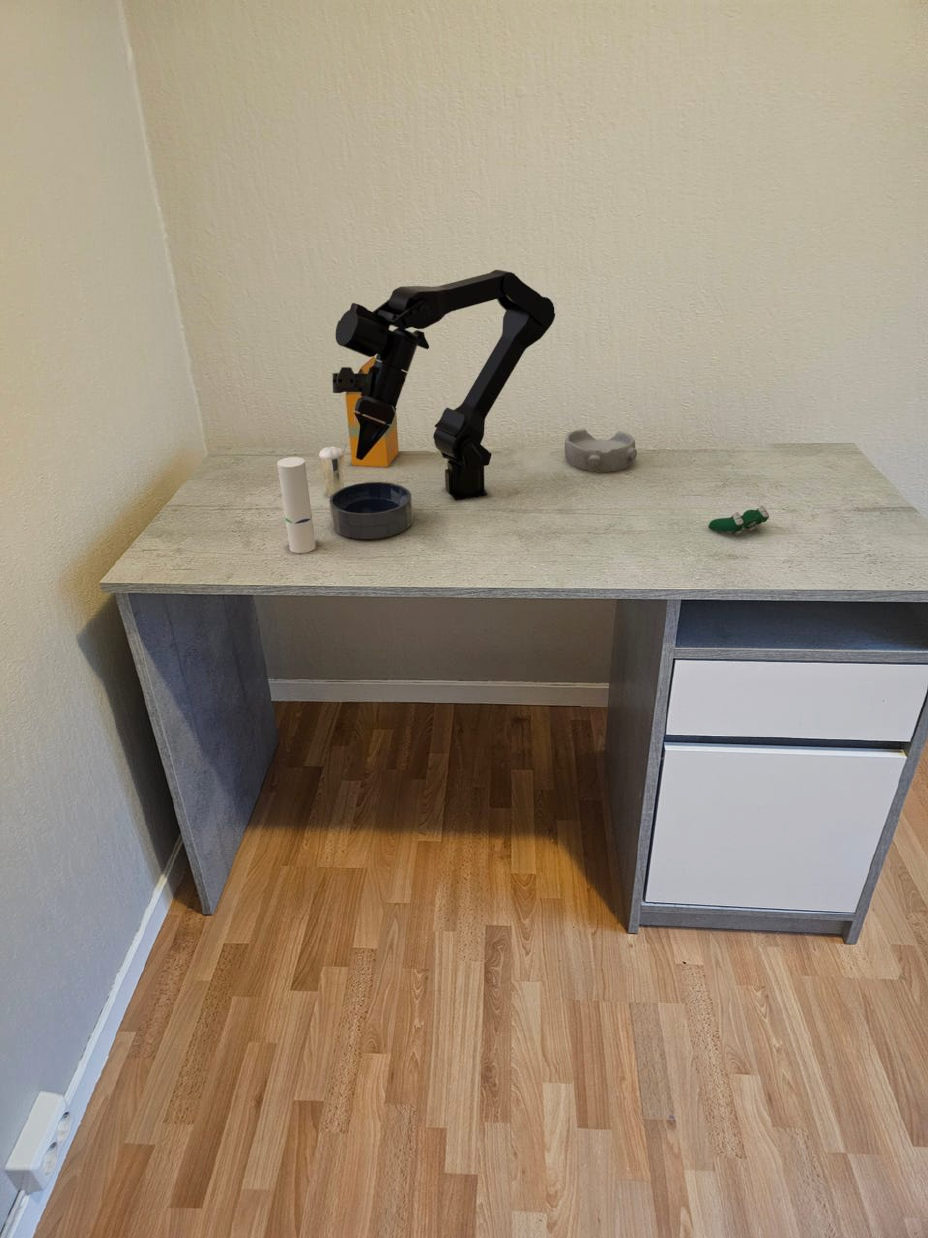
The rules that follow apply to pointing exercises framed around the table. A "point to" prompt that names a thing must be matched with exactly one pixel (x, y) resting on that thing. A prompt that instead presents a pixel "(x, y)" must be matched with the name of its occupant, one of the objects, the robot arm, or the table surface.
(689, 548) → the table surface
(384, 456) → the orange juice
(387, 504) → the bowl
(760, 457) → the table surface
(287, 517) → the tube
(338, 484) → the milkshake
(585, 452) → the dish
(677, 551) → the table surface
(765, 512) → the green elongated piece
